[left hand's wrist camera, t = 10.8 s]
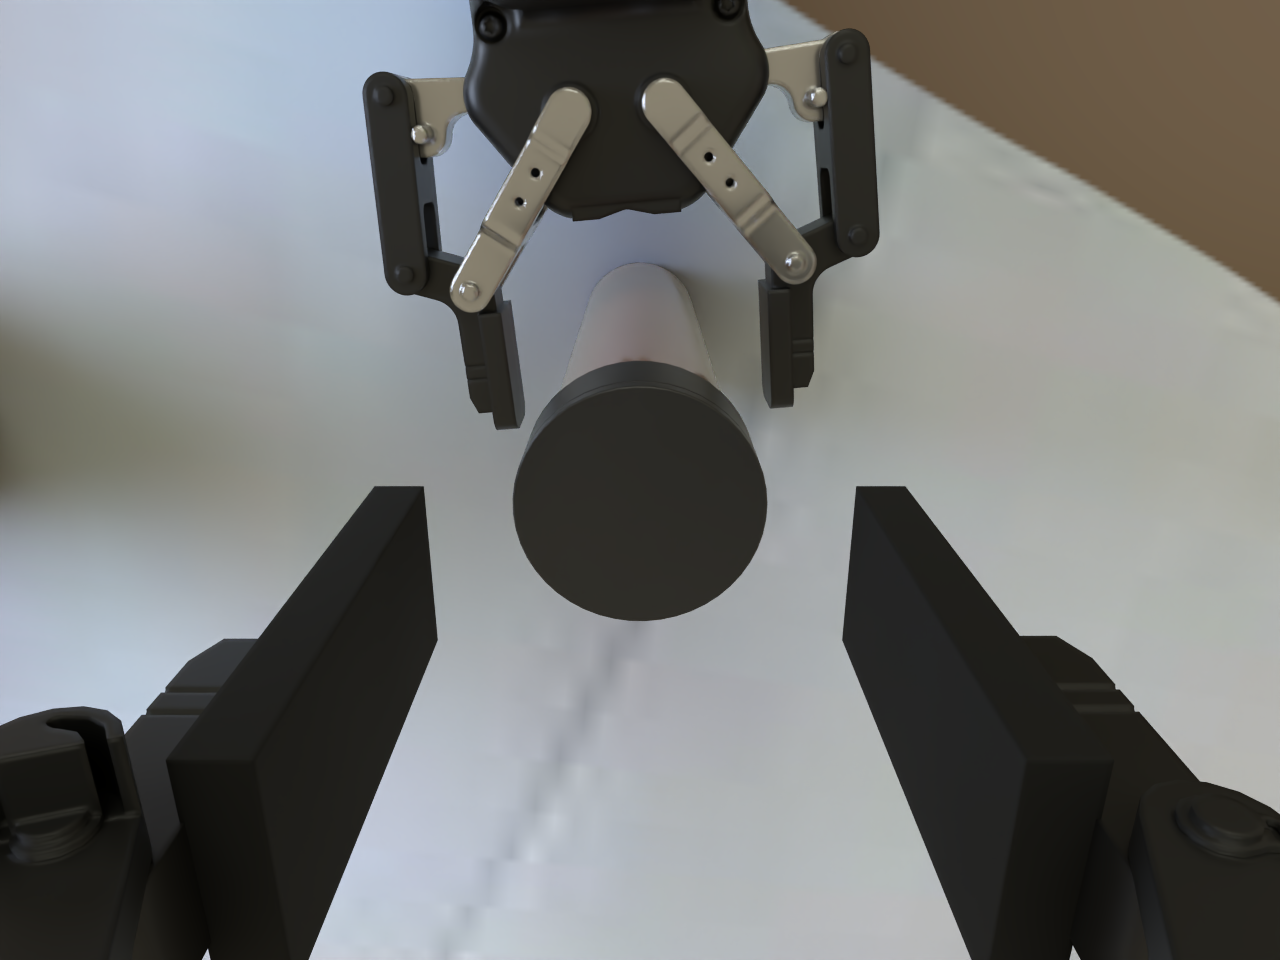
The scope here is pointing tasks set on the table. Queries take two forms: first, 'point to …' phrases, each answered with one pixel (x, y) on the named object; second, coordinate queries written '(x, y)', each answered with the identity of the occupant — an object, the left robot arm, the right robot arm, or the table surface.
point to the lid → (639, 492)
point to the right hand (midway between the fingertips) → (644, 412)
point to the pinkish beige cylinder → (639, 324)
